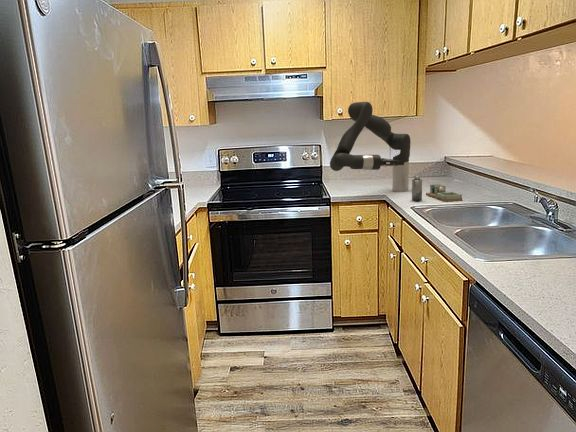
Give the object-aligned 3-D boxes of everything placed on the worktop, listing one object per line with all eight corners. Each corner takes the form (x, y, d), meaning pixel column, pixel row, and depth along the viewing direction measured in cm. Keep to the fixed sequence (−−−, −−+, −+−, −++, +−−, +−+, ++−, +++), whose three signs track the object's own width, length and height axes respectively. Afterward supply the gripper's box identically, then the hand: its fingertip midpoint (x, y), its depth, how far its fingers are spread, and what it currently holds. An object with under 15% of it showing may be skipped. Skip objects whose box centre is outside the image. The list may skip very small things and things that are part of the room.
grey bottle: (410, 200, 235) (410, 175, 233) (419, 199, 236) (419, 175, 233) (414, 202, 231) (414, 176, 228) (423, 201, 231) (423, 176, 228)
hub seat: (436, 196, 236) (436, 193, 235) (452, 195, 237) (453, 191, 236) (444, 199, 227) (444, 195, 227) (461, 198, 228) (461, 194, 228)
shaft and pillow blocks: (430, 192, 248) (430, 183, 247) (438, 191, 248) (438, 183, 247) (437, 195, 239) (437, 186, 238) (446, 194, 240) (446, 185, 239)
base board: (425, 195, 248) (425, 192, 247) (443, 193, 249) (443, 191, 248) (443, 201, 227) (443, 199, 227) (462, 200, 228) (462, 198, 228)
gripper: (375, 155, 216) (407, 155, 219) (365, 153, 230) (394, 154, 233) (375, 170, 218) (406, 170, 221) (364, 168, 231) (393, 168, 234)
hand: (400, 162), depth 227 cm, fingers open, 8 cm apart
